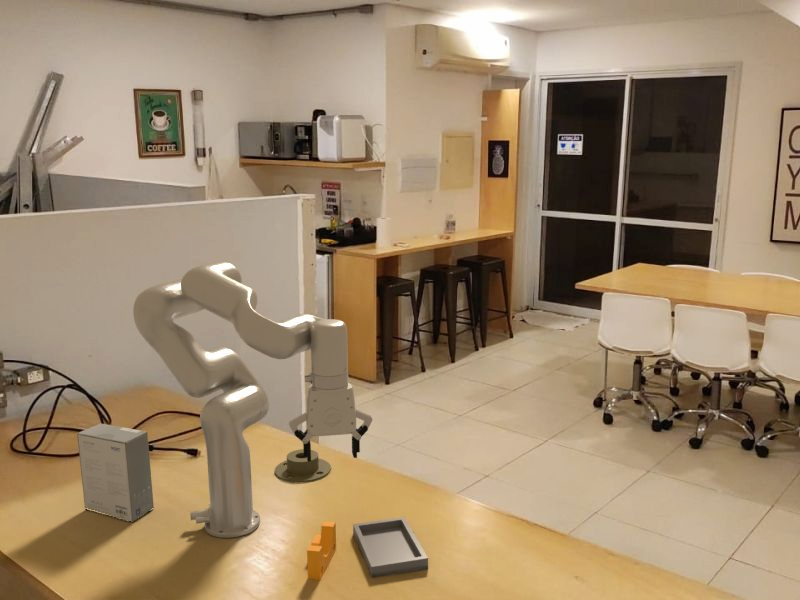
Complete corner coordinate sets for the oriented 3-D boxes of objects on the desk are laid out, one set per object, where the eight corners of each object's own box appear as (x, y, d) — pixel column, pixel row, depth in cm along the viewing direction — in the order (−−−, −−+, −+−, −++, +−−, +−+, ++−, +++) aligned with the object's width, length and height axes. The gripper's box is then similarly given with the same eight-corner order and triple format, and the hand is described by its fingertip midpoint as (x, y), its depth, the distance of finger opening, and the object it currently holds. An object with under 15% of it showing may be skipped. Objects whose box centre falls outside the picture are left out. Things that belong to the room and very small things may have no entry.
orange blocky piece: (317, 547, 164) (316, 520, 163) (336, 549, 164) (335, 522, 162) (299, 578, 153) (298, 549, 152) (320, 580, 152) (319, 551, 151)
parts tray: (371, 578, 152) (371, 566, 152) (353, 534, 169) (353, 524, 169) (428, 568, 156) (428, 558, 155) (404, 527, 173) (404, 517, 172)
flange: (297, 440, 212) (262, 459, 199) (341, 451, 204) (307, 471, 192) (298, 456, 213) (263, 476, 200) (341, 467, 205) (308, 488, 193)
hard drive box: (155, 509, 182) (149, 431, 177) (132, 523, 175) (125, 443, 171) (107, 497, 188) (100, 422, 184) (83, 510, 181) (75, 432, 177)
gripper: (288, 387, 149) (291, 467, 153) (374, 382, 152) (375, 461, 156) (287, 376, 157) (289, 453, 160) (369, 371, 160) (370, 447, 163)
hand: (331, 457), depth 158 cm, fingers open, 9 cm apart
